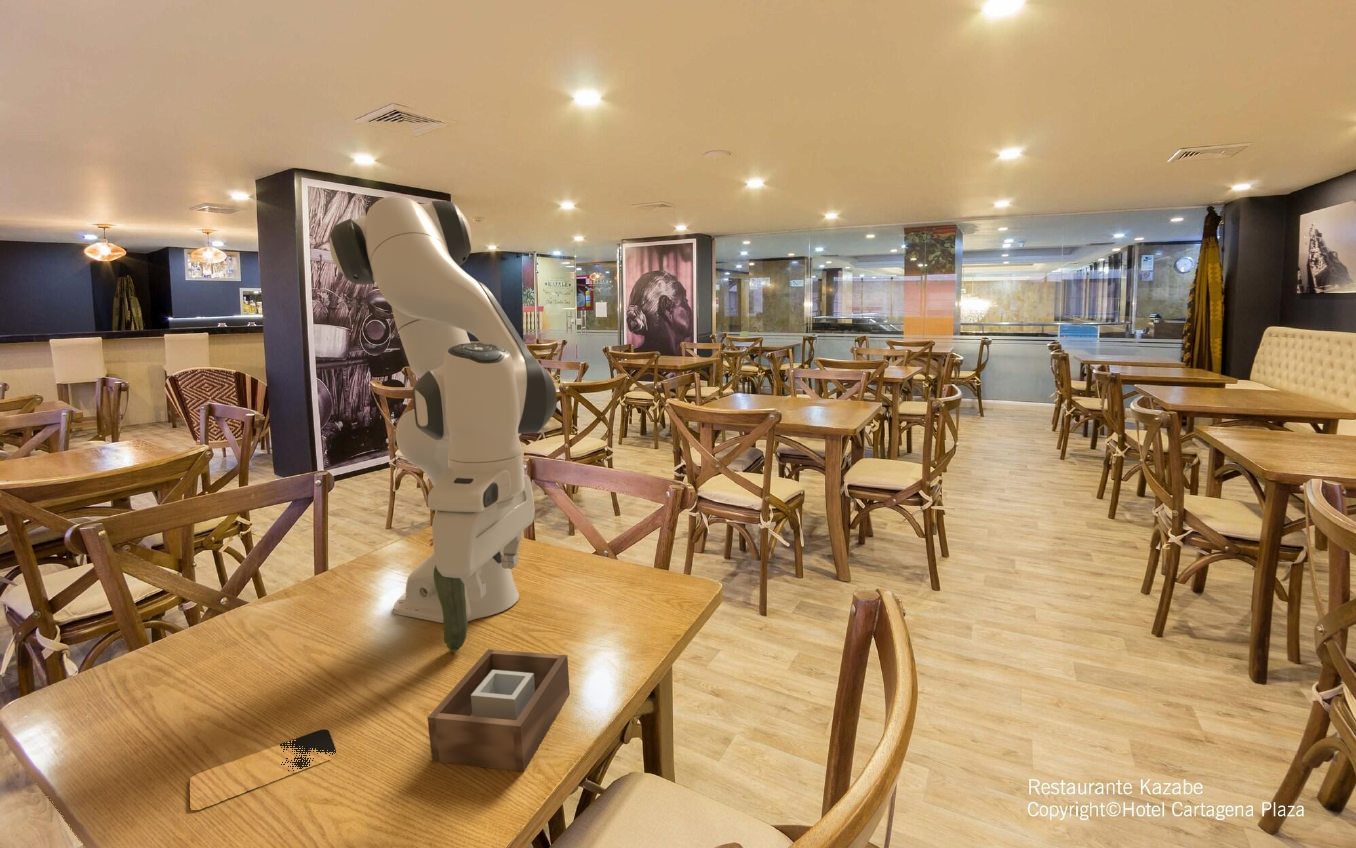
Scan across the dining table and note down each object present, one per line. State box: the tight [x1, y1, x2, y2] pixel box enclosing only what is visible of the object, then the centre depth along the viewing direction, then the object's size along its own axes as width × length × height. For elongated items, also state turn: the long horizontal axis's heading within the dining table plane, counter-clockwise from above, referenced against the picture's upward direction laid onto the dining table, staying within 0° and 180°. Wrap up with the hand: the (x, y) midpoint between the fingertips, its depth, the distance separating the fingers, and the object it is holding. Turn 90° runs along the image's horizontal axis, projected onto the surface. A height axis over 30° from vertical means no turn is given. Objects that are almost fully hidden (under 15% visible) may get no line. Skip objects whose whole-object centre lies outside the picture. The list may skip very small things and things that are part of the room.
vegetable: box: [434, 565, 468, 654], centre depth 104 cm, size 4×4×20 cm
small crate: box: [471, 670, 535, 720], centre depth 87 cm, size 6×6×5 cm
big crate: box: [426, 648, 570, 772], centre depth 87 cm, size 12×16×6 cm
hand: (494, 581), depth 84 cm, fingers open, 8 cm apart
